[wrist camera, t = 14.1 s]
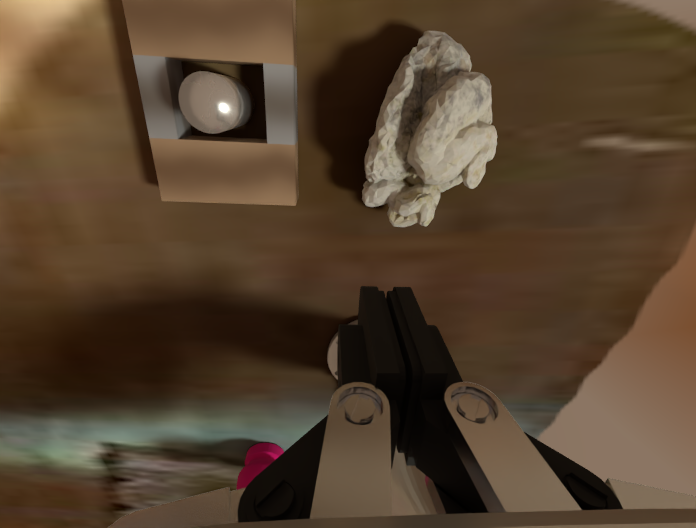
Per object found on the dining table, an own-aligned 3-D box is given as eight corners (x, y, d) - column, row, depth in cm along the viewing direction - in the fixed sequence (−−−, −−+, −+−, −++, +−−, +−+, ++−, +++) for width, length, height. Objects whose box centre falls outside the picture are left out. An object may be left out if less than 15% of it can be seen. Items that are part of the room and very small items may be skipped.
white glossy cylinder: (256, 128, 33) (239, 134, 27) (211, 126, 33) (183, 132, 27) (252, 78, 31) (233, 72, 25) (204, 75, 31) (173, 69, 25)
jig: (298, 196, 37) (295, 205, 34) (176, 191, 36) (161, 200, 33) (295, -10, 29) (291, -23, 26) (138, -23, 28) (114, -38, 25)
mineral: (327, 209, 35) (383, 256, 28) (367, 10, 27) (458, 8, 20) (413, 209, 42) (474, 247, 35) (465, 49, 34) (559, 57, 27)
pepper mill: (249, 436, 54) (209, 606, 36) (292, 444, 55) (275, 611, 37) (240, 464, 56) (199, 633, 39) (281, 470, 58) (260, 637, 40)
